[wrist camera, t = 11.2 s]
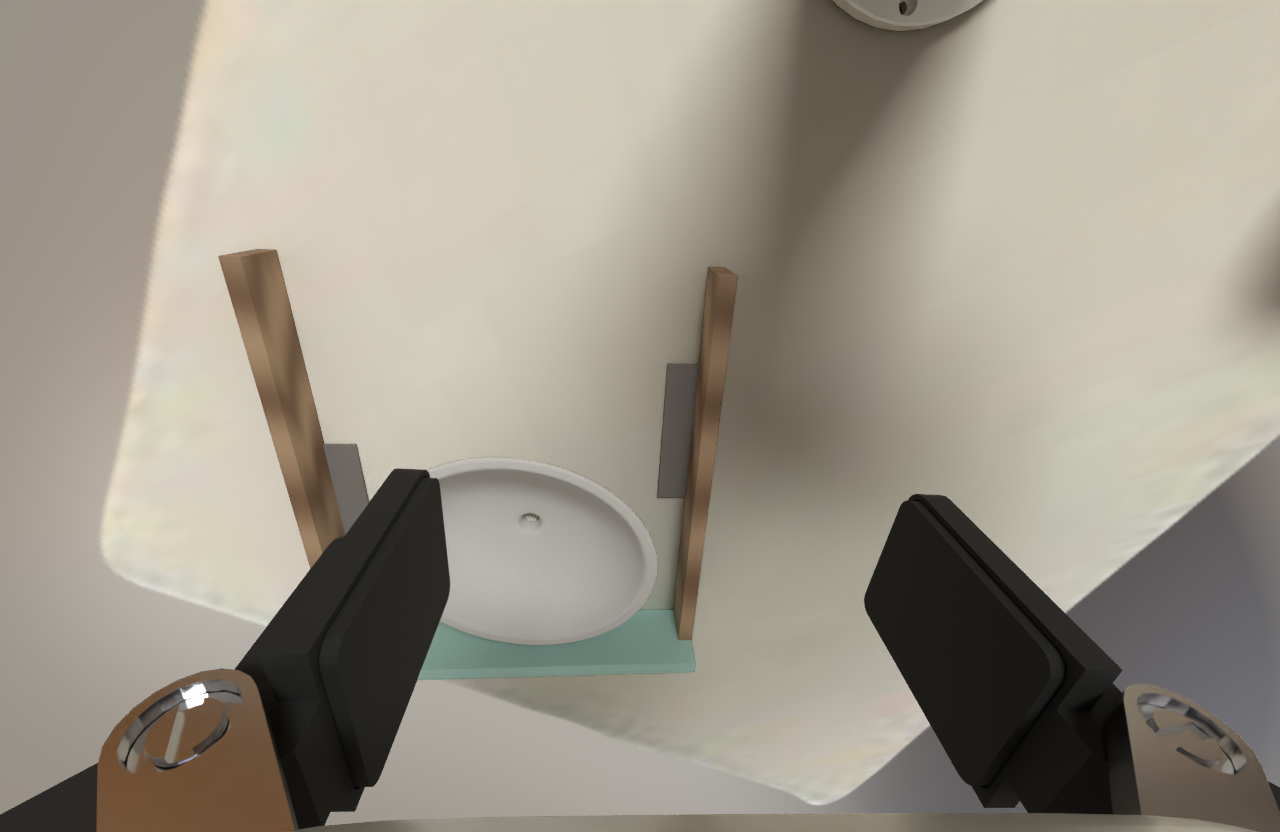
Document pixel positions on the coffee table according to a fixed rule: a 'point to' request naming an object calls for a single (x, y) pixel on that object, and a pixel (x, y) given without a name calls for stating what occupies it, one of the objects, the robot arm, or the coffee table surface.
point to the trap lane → (337, 496)
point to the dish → (539, 552)
